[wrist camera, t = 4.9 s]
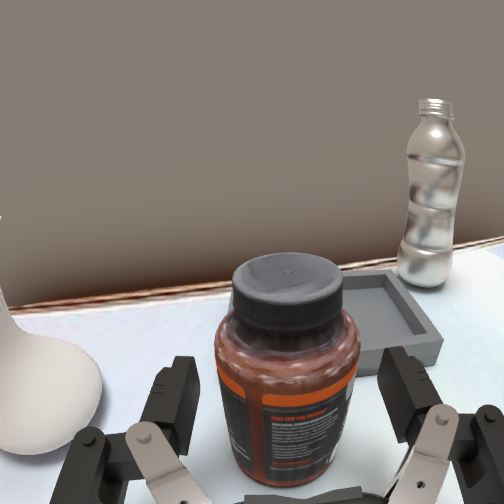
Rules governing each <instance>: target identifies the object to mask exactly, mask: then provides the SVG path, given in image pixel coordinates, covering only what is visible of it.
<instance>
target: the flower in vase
mask: <svg viewBox="0 0 504 504" xmlns="http://www.w3.org/2000/svg"><path fill="white" fill-rule="evenodd" d="M0 220H1V216H0ZM102 384H103V381H102V374H101V371H100V368H99V367H98V365H97V363H96V362H95V361H94V359H93V358H92V357H91V356H90V355H89V354H88V353H86V352H85V351H84V350H83V349H82V348H80V347H79V346H77V345H74V344H72V343H69V342H66V341H64V340H60V339H57V338H51V337H46V336H40V335H34V334H30V333H27V332H25V331H23V330H22V329H20V328H19V327H18V326H17V324H16V323H15V321H14V320H13V318H12V316H11V314H10V312H9V310H8V308H7V305H6V303H5V300H4V297H3V294H2V291H1V288H0V449H2V450H4V451H7V452H10V453H15V454H21V455H37V454H42V453H47V452H50V451H53V450H55V449H58V448H60V447H61V446H63V445H65V444H67V443H68V442H70V441H71V440H72V439H73V438H74V436H75V434H76V433H77V432H78V431H79V430H81V429H83V428H85V427H86V426H87V425H88V423H89V422H90V420H91V419H92V417H93V415H94V413H95V412H96V409H97V407H98V404H99V401H100V397H101V393H102Z"/></svg>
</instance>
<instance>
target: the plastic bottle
mask: <svg viewBox="0 0 504 504" xmlns="http://www.w3.org/2000/svg"><path fill="white" fill-rule="evenodd" d="M418 114H419V116H420V117H421V118H422V119H421V124H420V125H419V126H418V127H417V129H416V130H415V131H414V133H413V135H412V137H411V138H410V140H409V143H408V146H407V156H408V169H409V182H410V187H409V197H410V201H409V211H408V216H407V222H406V227H405V232H404V238H403V240H402V242H401V245H400V248H399V252H398V256H397V269H398V272H399V274H400V276H401V278H402V279H403V280H404V281H406V282H407V283H409V284H412V285H415V286H418V287H425V288H431V287H437V286H439V285H441V284H442V283H443V282H444V281H445V280H446V279H447V277H448V275H449V272H450V269H451V267H452V256H453V253H452V242H453V231H454V217H455V211H456V204H457V200H458V193H459V188H460V184H461V179H462V174H463V169H464V167H463V166H464V164H465V151H464V147H463V145H462V143H461V141H460V139H459V137H458V135H457V134H456V132H455V130H454V129H453V127H452V124H451V121H453V120H454V116H453V107H452V103H451V102H447V101H443V100H435V99H419V113H418Z"/></svg>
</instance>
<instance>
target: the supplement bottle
mask: <svg viewBox="0 0 504 504" xmlns="http://www.w3.org/2000/svg"><path fill="white" fill-rule="evenodd" d="M232 285H233V301H232V304H233V307H234V309H233V310H231V311H230V312H229V313H228V314H227V315H226V316H225V318H224V319H223V320H222V322H221V323H220V325H219V327H218V329H217V331H216V335H215V342H214V346H215V359H216V365H217V373H218V378H219V384H220V390H221V395H222V402H223V407H224V411H225V417H226V422H227V427H228V432H229V437H230V441H231V446H232V451H233V453H234V456H235V458H236V461H237V463H238V464H239V466H240V467H241V469H242V470H243V471H244V472H245V473H246V474H248V475H249V476H250V477H252V478H254V479H256V480H258V481H260V482H262V483H265V484H269V485H273V486H293V485H298V484H302V483H305V482H308V481H310V480H312V479H314V478H315V477H317V476H319V475H320V474H321V473H323V472H324V471H325V470H326V469H327V467H328V466H329V465H330V464H331V462H332V460H333V458H334V456H335V454H336V451H337V448H338V445H339V441H340V438H341V434H342V431H343V427H344V423H345V419H346V415H347V411H348V407H349V403H350V399H351V395H352V391H353V385H354V381H355V376H356V371H357V366H358V361H359V355H360V349H361V340H360V333H359V330H358V328H357V325H356V323H355V321H354V319H353V318H352V317H351V315H350V314H349V313H347V311H345V310H344V309H343V308H342V305H343V297H342V293H343V274H342V272H341V270H340V268H338V266H337V265H335V264H334V263H332V262H331V261H329V260H327V259H325V258H322V257H319V256H315V255H311V254H303V253H276V254H269V255H265V256H261V257H257V258H254V259H252V260H249V261H248V262H246V263H244V264H243V265H241V266H239V267H238V269H237V270H236V271H235V272H234V274H233V279H232Z"/></svg>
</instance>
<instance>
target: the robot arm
mask: <svg viewBox="0 0 504 504" xmlns="http://www.w3.org/2000/svg"><path fill="white" fill-rule="evenodd" d="M377 381H378V386H379V389H380V392H381V395H382V397H383V400H384V403H385V406H386V409H387V412H388V414H389V417H390V420H391V423H392V426H393V429H394V432H395V435H396V438H397V441H398V444H399V443H403V442H408V445H409V447H408V449H407V451H406V453H405V455H404V457H403V459H402V461H401V464H400V466H399V468H398V470H397V472H396V474H395V476H394V477H393V479H392V481H391V483H390V485H389V486H388V488H387V490H386V491H385V493H384V494H383V496H380V495H376V494H373V493H366V492H362V489H361V486H357V487H351V488H345V489H338V490H332V491H329V492H327V493H324V494H321V495H318V496H314V497H311V498H308V499H296V498H290V497H283V496H277V495H245V496H244V501H243V502H238V503H235V504H435V502H436V499H437V497H438V494H439V492H440V489H441V487H442V484H443V481H444V479H445V476H446V473H447V470H448V467H449V464H450V461H452V464H453V467H454V470H455V473H456V477H457V480H458V483H459V487H460V490H461V494H462V497H463V501H464V504H504V416H503V414H502V412H501V411H500V409H499V408H497V407H496V406H493V405H483V406H481V407H480V408H479V409H478V410H477V412H476V414H459V413H457V411H456V410H455V409H454V408H453V407H451V406H449V405H446V404H443V402H442V400H441V398H440V397H439V395H438V393H437V391H436V389H435V387H434V385H433V383H432V381H431V379H429V376H428V374H427V373H426V370H425V368H424V366H423V365H422V363H421V362H420V361H419V360H418V359H417V358H415V357H414V356H408V355H407V353H406V351H405V349H404V348H403V346H395V347H388V348H385V349H384V351H383V355H382V359H381V363H380V367H379V370H378V375H377ZM199 396H200V381H199V376H198V372H197V367H196V363H195V359H194V357H193V356H176V357H175V358H174V361H173V364H172V367H171V368H169V367H164V368H163V369H162V370H161V371H160V372H159V373H158V374H157V375H156V377H155V380H154V383H153V386H152V388H151V391H150V394H149V396H148V399H147V402H146V404H145V407H144V410H143V413H142V416H141V418H140V421H139V423H136V424H134V425H132V426H131V427H130V428H129V429H128V430H127V432H124V433H117V434H107V435H104V433H103V432H102V431H101V430H100V429H98V428H96V427H85V428H83V429H81V430H79V431H78V432H77V433H76V434H75V436H74V438H73V441H72V443H71V446H70V448H69V451H68V453H67V456H66V458H65V461H64V464H63V466H62V469H61V472H60V474H59V477H58V480H57V483H56V486H55V488H54V491H53V494H52V497H51V500H50V503H49V504H124V500H125V495H126V491H127V486H128V482H129V480H140V479H145V480H146V484H147V486H148V488H149V490H150V492H151V494H152V496H153V497H154V499H155V501H156V502H157V504H212V503H211V501H210V500H209V499H208V497H207V496H206V495H205V493H204V492H203V491H202V489H201V488H200V487H199V485H198V484H197V482H196V481H195V480H194V478H193V477H192V475H191V474H190V473H189V471H188V470H187V469H186V467H184V466H183V464H182V463H181V461H180V460H179V455H185V456H187V455H188V450H189V445H190V440H191V435H192V430H193V425H194V420H195V415H196V410H197V406H198V401H199Z"/></svg>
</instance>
